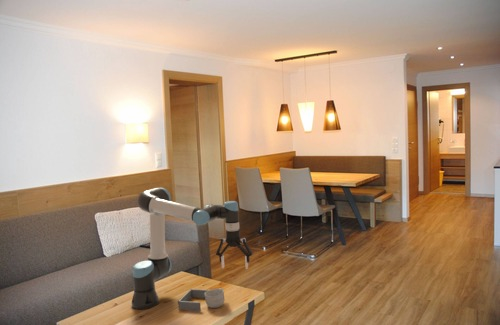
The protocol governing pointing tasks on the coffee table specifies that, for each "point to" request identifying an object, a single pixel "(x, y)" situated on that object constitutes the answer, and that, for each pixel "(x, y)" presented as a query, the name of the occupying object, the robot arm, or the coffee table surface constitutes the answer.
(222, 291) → the teacup
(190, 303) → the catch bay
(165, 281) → the coffee table surface
